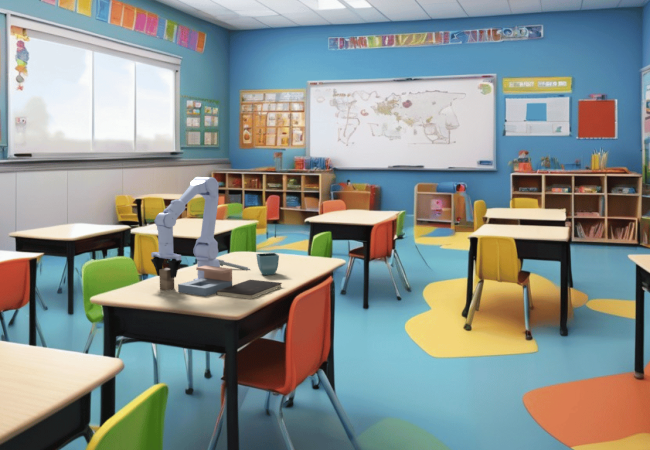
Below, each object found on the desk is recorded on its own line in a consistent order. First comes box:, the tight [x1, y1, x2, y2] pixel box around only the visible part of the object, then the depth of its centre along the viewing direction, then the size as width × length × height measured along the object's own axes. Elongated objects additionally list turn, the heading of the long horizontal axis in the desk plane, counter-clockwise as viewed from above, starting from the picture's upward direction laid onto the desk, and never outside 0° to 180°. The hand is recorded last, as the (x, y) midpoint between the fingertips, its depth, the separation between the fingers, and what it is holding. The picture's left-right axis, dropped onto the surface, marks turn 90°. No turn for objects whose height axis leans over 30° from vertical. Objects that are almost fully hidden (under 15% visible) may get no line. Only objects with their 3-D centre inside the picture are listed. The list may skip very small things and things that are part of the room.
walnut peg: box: [159, 267, 175, 291], centre depth 241 cm, size 4×4×8 cm
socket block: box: [177, 278, 233, 297], centre depth 239 cm, size 16×14×3 cm
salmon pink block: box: [196, 265, 233, 282], centre depth 243 cm, size 6×14×5 cm, turn 59°
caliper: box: [216, 258, 251, 271], centre depth 284 cm, size 20×1×6 cm, turn 76°
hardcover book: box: [215, 279, 283, 300], centre depth 238 cm, size 16×23×2 cm
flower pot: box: [256, 252, 280, 276], centre depth 271 cm, size 9×9×9 cm
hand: (166, 276), depth 241 cm, fingers open, 7 cm apart
